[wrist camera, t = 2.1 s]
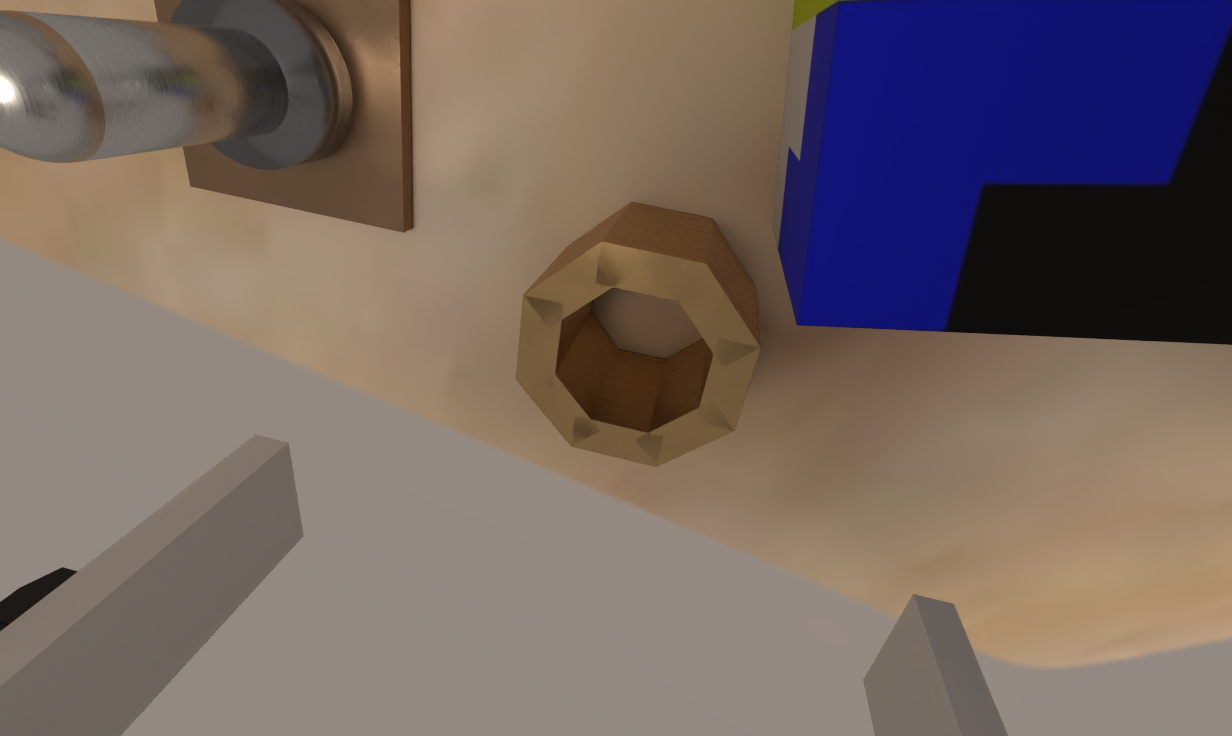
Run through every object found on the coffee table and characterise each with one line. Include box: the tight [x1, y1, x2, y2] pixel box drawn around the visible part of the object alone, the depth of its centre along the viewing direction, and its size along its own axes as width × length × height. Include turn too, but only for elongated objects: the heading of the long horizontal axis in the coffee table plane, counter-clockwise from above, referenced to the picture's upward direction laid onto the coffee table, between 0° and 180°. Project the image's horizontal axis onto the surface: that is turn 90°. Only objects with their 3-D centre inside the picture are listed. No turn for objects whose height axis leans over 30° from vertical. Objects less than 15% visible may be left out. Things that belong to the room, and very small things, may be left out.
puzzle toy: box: [772, 0, 1232, 345], centre depth 15 cm, size 10×10×10 cm
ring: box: [516, 202, 761, 467], centre depth 22 cm, size 8×8×6 cm
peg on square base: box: [0, 0, 413, 232], centre depth 18 cm, size 10×10×12 cm
